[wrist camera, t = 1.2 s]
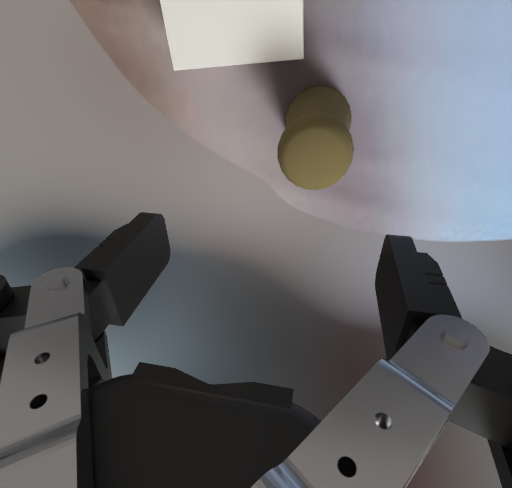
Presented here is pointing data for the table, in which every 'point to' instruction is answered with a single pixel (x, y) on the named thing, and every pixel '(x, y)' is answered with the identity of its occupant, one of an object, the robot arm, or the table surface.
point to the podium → (233, 31)
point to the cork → (316, 139)
